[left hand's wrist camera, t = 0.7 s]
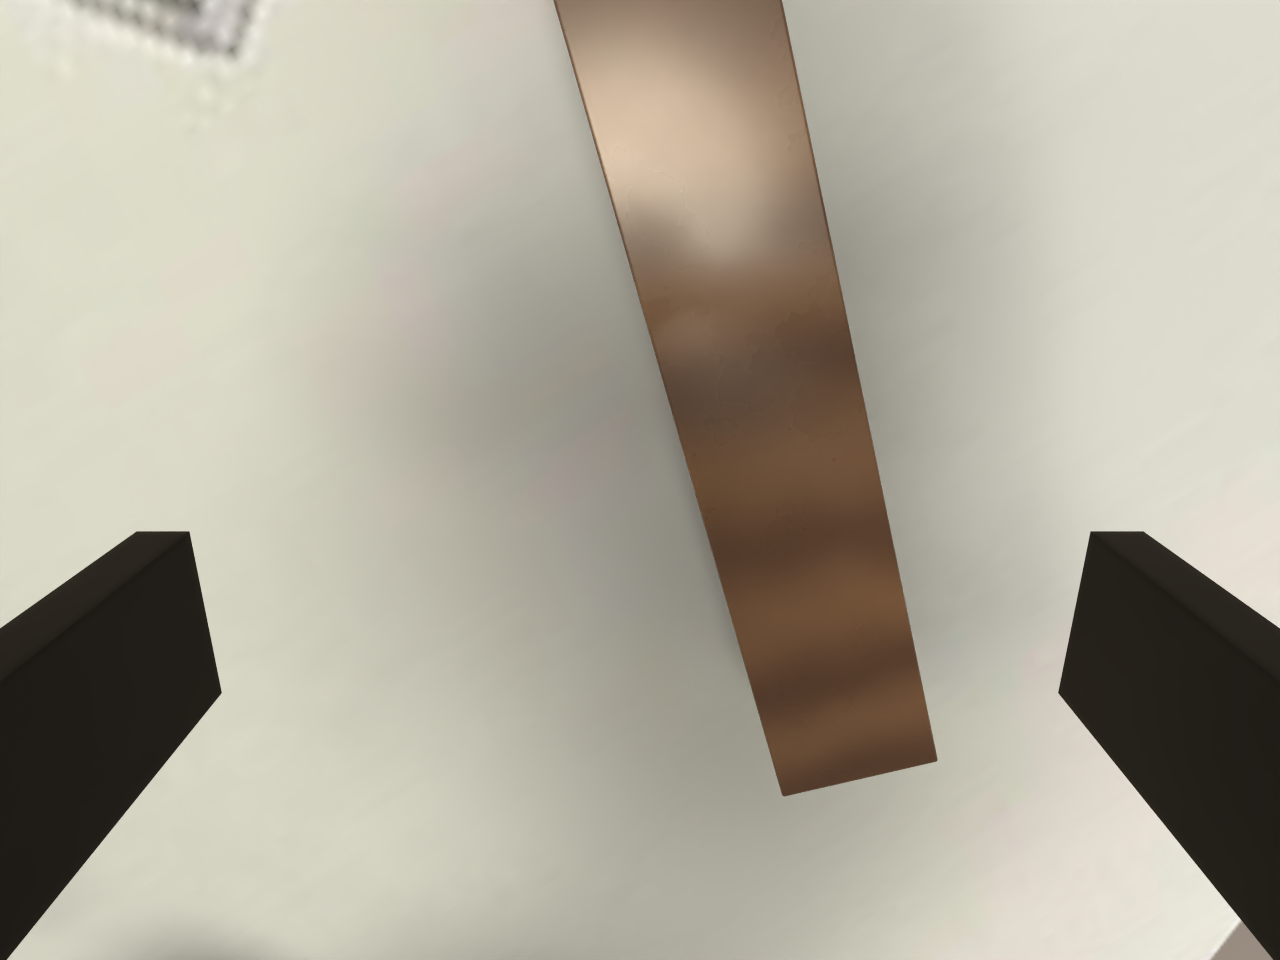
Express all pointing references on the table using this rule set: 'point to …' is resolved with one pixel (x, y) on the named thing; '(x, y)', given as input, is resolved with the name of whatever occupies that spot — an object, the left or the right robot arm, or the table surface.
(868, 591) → the bar
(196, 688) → the left robot arm
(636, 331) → the table surface
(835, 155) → the table surface
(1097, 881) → the table surface
